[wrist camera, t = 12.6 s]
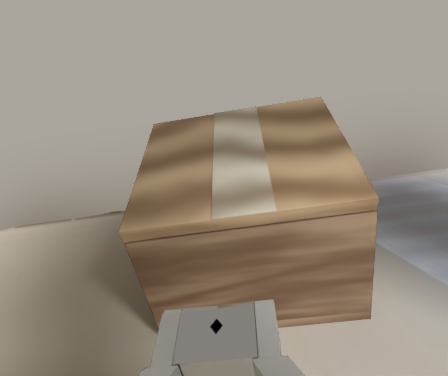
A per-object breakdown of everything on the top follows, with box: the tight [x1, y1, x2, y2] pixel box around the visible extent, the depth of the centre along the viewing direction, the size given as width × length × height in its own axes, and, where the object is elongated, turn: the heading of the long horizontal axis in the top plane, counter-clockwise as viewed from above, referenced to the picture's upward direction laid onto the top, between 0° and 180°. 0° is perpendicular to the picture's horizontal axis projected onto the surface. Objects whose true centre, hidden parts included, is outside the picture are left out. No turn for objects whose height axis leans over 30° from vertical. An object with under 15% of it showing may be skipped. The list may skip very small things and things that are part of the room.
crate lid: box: [119, 97, 379, 242], centre depth 33 cm, size 18×20×1 cm
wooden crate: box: [125, 210, 377, 328], centre depth 37 cm, size 18×20×12 cm
